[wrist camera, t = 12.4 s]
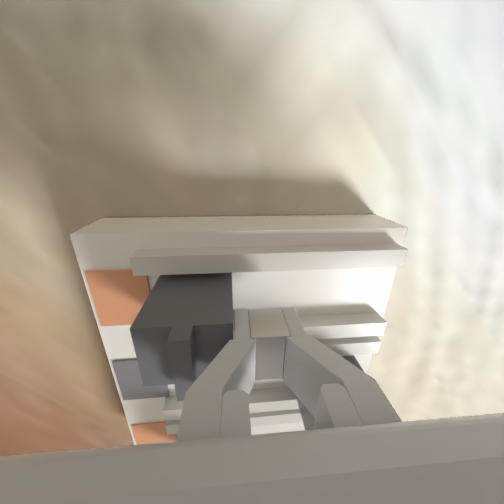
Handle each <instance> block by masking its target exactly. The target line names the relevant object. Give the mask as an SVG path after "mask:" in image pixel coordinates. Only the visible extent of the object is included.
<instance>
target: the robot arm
mask: <svg viewBox="0 0 504 504" xmlns="http://www.w3.org/2000/svg"><path fill="white" fill-rule="evenodd" d="M267 379H283V381H284V382H285V383H286V384H287V386H288V387H289V388H290V389H291V390H292V392H293V393H294V394H295V395H296V396H297V397H298V399H299V400H300V401H301V402H302V403H303V405H304V406H305V407H306V408H307V409H308V411H309V412H310V413H311V414H312V415H313V416H314V418H315V421H314V427H313V430H303V431H291V432H280V433H268V434H256V435H252V434H251V422H250V411H249V399H248V396H249V394H250V391H251V389H252V387H253V385H254V383H255V381H256V380H267ZM0 504H504V413H497V414H485V415H474V416H462V417H451V418H439V419H428V420H417V421H405V422H402V421H401V419H400V418H399V416H398V415H397V413H396V411H395V410H394V408H393V407H392V405H391V404H390V402H389V401H388V399H387V398H386V396H385V394H384V393H383V391H382V390H381V388H380V387H379V385H378V384H377V382H376V380H375V379H373V378H372V377H370V376H369V375H368V374H366V373H365V372H363V371H362V370H360V369H359V368H357V367H356V366H355V365H353V364H352V363H350V362H349V361H347V360H346V359H344V358H343V357H342V356H340V355H339V354H337V353H336V352H334V351H333V350H331V349H330V348H328V347H327V346H326V345H324V344H323V343H321V342H320V341H318V340H317V339H315V338H314V337H313V336H307V334H306V332H305V330H304V327H303V325H302V323H301V320H300V318H299V316H298V314H297V311H296V309H295V307H294V306H286V307H277V308H248V309H247V308H236V309H234V340H229V342H228V343H227V344H226V345H225V346H224V347H223V349H222V350H221V351H220V352H219V353H218V355H217V356H216V357H215V358H214V359H213V361H212V362H211V363H210V364H209V365H208V366H207V368H206V369H205V370H204V371H203V372H202V374H201V375H200V376H199V377H198V378H197V379H196V381H195V382H194V383H193V384H192V385H191V387H190V388H189V389H188V390H187V391H186V393H185V399H184V404H183V409H182V414H181V419H180V424H179V429H178V434H177V439H176V442H164V443H153V444H141V445H130V446H118V447H107V448H95V449H84V450H72V451H61V452H49V453H38V454H26V455H15V456H3V457H0Z"/></svg>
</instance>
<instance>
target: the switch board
mask: <svg viewBox="0 0 504 504" xmlns="http://www.w3.org/2000/svg"><path fill="white" fill-rule="evenodd" d="M407 230H408V227H405V226H403V225H400V224H398V223H395V222H393V221H390V220H388V219H385V218H383V217H380V216H378V215H376V214H362V215H285V216H208V217H131V218H101V219H99V220H97V221H95V222H93V223H91V224H89V225H87V226H85V227H83V228H81V229H79V230H76V231H74V232H72V233H70V234H69V235H70V238H71V241H72V244H73V248H74V251H75V254H76V257H77V260H78V264H79V267H80V270H81V273H82V277H83V280H84V283H85V286H86V289H87V293H88V296H89V299H90V302H91V306H92V309H93V312H94V315H95V319H96V322H97V325H98V328H99V331H100V335H101V338H102V341H103V344H104V348H105V351H106V354H107V357H108V360H109V364H110V367H111V370H112V373H113V377H114V380H115V383H116V386H117V390H118V393H119V396H120V399H121V402H122V406H123V409H124V412H125V415H126V419H127V422H128V425H129V428H130V431H131V435H132V438H133V441H134V444H135V445H141V444H153V443H164V442H176V439H177V434H178V429H179V424H180V419H181V414H182V409H183V404H184V401H177V397H176V391H175V386H174V384H171V385H158V386H145V387H144V386H143V382H142V378H141V374H140V370H139V366H138V362H137V357H136V353H135V349H134V345H133V341H132V337H131V333H130V327H131V325H132V324H133V322H134V320H135V318H136V317H137V315H138V313H139V311H140V310H141V308H142V306H143V304H144V302H145V301H146V299H147V297H148V295H149V294H150V292H151V290H152V288H153V287H154V285H155V283H156V281H157V280H158V278H159V276H160V275H177V274H206V273H232V298H233V334H234V309H236V308H247V309H248V308H277V307H286V306H294V307H295V309H296V311H297V314H298V316H299V318H300V320H301V323H302V325H303V327H304V330H305V332H306V334H307V336H313V337H314V338H315V339H317V340H318V341H320V342H321V343H323V344H324V345H326V346H327V347H328V348H330V349H331V350H333V351H334V352H336V353H337V354H339V355H340V356H351V355H354V356H355V358H356V360H357V361H358V363H359V364H360V366H361V368H362V369H363V371H364V372H365V373H366V374H367V372H368V369H369V365H370V362H371V358H372V355H373V354H378V351H379V348H380V345H381V341H380V339H379V338H378V336H382V335H383V334H384V331H385V327H386V324H387V322H386V321H385V320H384V319H383V315H384V312H385V308H386V305H387V301H388V298H389V294H390V290H391V287H392V283H393V280H394V276H395V273H396V269H397V267H403V266H404V262H405V259H406V256H407V252H408V249H406V248H405V247H403V244H404V241H405V237H406V233H407ZM248 399H249V411H250V422H251V434H252V435H256V434H268V433H280V432H291V431H303V430H305V427H304V424H303V420H302V417H301V413H300V409H299V406H298V402H297V399H296V395H295V394H294V393H293V392H292V390H291V389H290V388H289V387H288V386H287V384H286V383H285V382H284V381H283V379H267V380H256V381H255V383H254V385H253V387H252V389H251V391H250V394H249V396H248Z"/></svg>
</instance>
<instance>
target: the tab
mask: <svg viewBox="0 0 504 504" xmlns="http://www.w3.org/2000/svg"><path fill="white" fill-rule="evenodd" d="M130 333H131V337H132V341H133V345H134V349H135V353H136V357H137V362H138V366H139V370H140V374H141V378H142V382H143V386H144V387H145V386H158V385H171V384H174V386H175V391H176V397H177V401H184V399H185V393H186V391H187V390H188V389H189V388H190V387H191V385H192V384H193V383H194V382H195V381H196V379H197V378H198V377H199V376H200V375H201V374H202V372H203V371H204V370H205V369H206V368H207V366H208V365H209V364H210V363H211V362H212V361H213V359H214V358H215V357H216V356H217V355H218V353H219V352H220V351H221V350H222V349H223V347H224V346H225V345H226V344H227V343H228V342H229V340H234V334H233V298H232V273H206V274H177V275H160V276H159V278H158V280H157V281H156V283H155V285H154V287H153V288H152V290H151V292H150V294H149V295H148V297H147V299H146V301H145V302H144V304H143V306H142V308H141V310H140V311H139V313H138V315H137V317H136V318H135V320H134V322H133V324H132V325H131V327H130Z"/></svg>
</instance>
